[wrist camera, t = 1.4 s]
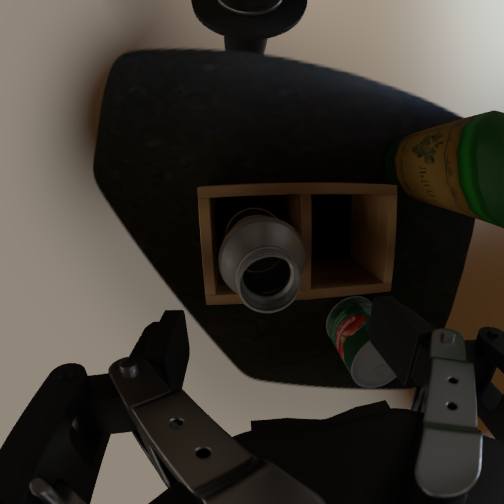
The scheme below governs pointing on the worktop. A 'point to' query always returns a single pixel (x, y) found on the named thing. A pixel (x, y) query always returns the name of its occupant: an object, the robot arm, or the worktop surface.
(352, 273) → the bottle rack
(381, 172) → the worktop surface
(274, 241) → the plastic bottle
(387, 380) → the canned tomato
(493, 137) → the bottle
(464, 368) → the robot arm
